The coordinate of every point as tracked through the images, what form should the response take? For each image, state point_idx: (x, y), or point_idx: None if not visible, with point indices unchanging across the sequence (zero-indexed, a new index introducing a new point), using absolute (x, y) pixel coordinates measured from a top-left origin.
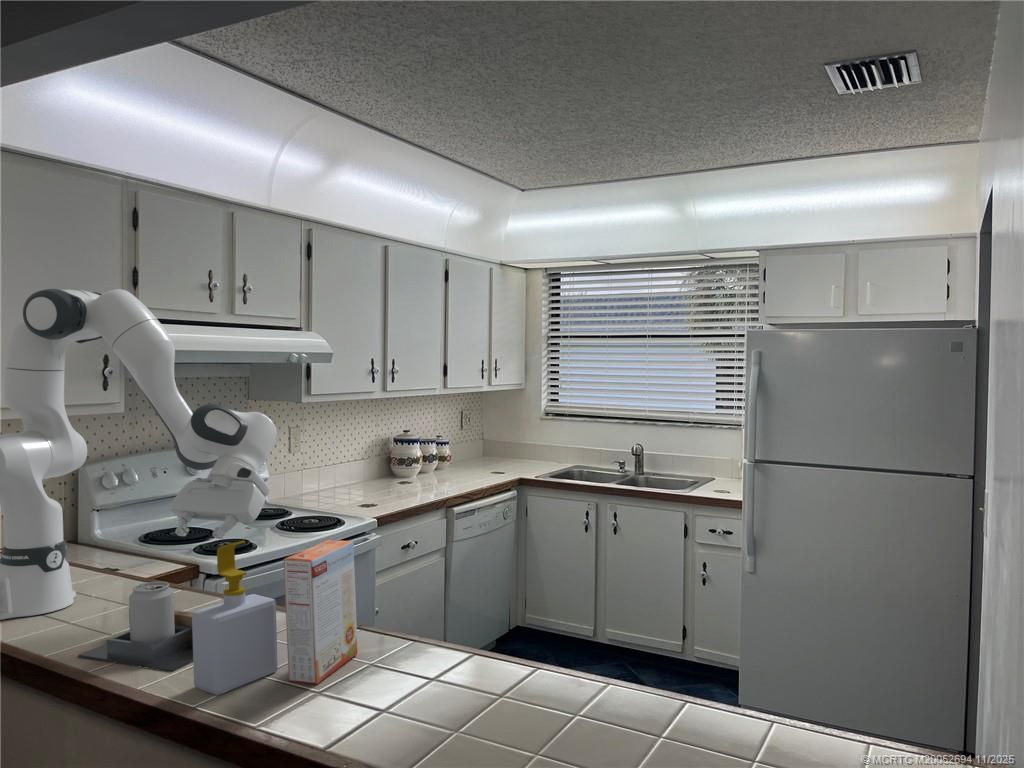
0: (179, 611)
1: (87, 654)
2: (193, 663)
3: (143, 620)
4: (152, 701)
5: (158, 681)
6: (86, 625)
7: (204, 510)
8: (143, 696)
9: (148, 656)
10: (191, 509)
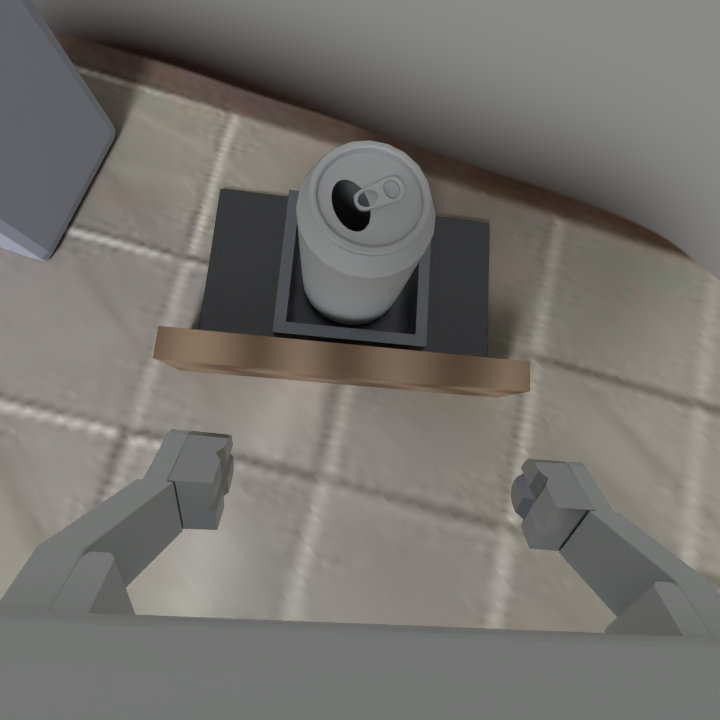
0: (364, 373)
1: (470, 227)
2: (90, 90)
3: (339, 189)
4: (164, 71)
5: (217, 148)
6: (647, 398)
7: (436, 635)
8: (197, 87)
9: None
10: (643, 647)
